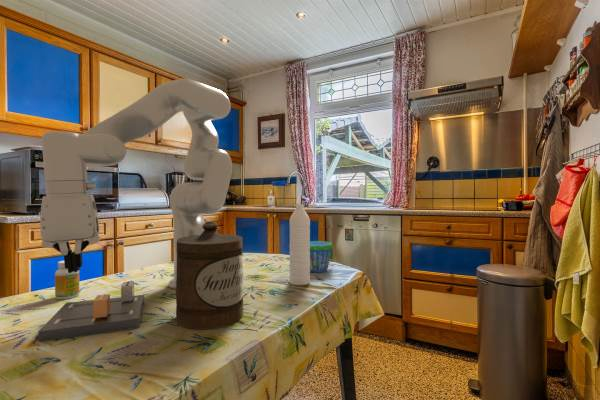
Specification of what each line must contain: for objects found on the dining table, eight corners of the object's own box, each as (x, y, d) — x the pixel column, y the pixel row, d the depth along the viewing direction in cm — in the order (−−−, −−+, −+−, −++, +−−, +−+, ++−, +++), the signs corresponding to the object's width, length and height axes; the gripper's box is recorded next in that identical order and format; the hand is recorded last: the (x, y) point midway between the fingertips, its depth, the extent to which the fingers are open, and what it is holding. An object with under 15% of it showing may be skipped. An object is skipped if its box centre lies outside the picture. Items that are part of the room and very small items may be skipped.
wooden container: (210, 335, 64) (210, 225, 63) (161, 321, 71) (160, 222, 71) (256, 311, 77) (255, 220, 76) (210, 301, 84) (210, 217, 84)
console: (144, 302, 83) (144, 294, 83) (138, 327, 67) (137, 318, 67) (66, 311, 77) (65, 302, 77) (38, 341, 61) (38, 331, 61)
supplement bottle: (66, 300, 85) (66, 263, 84) (50, 299, 86) (49, 263, 86) (84, 294, 90) (83, 259, 90) (68, 292, 91) (67, 258, 91)
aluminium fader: (134, 295, 81) (134, 280, 81) (132, 300, 78) (132, 284, 78) (123, 296, 81) (123, 281, 80) (121, 301, 77) (120, 285, 77)
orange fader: (110, 310, 71) (109, 293, 71) (106, 316, 67) (106, 298, 67) (97, 311, 70) (97, 294, 70) (93, 318, 67) (93, 300, 66)
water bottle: (285, 284, 100) (285, 204, 99) (294, 279, 106) (294, 203, 105) (311, 287, 96) (312, 204, 96) (319, 282, 102) (319, 203, 101)
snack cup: (309, 277, 108) (309, 247, 108) (291, 271, 117) (291, 243, 116) (342, 270, 117) (342, 242, 117) (323, 265, 126) (323, 239, 126)
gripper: (109, 187, 77) (114, 262, 78) (31, 190, 71) (39, 271, 72) (103, 188, 70) (110, 270, 71) (17, 191, 64) (25, 280, 65)
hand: (74, 270), depth 72 cm, fingers closed
